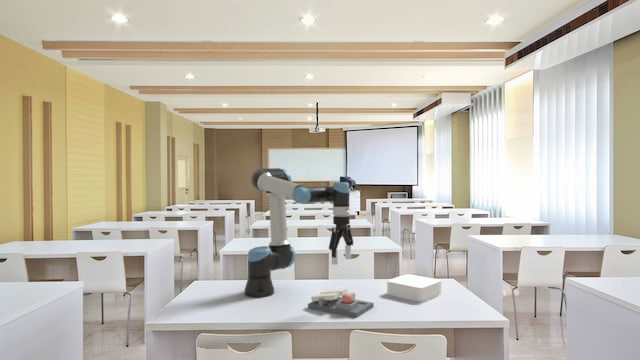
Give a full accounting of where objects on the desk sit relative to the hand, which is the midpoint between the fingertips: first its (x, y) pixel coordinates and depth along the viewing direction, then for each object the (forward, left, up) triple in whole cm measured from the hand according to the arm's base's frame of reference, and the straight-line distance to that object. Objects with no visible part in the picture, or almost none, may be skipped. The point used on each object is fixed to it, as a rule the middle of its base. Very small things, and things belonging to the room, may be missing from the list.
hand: (341, 261), depth 196 cm
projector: (+21, +39, -21) cm, 49 cm away
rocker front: (-6, -5, -16) cm, 18 cm away
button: (+6, -5, -17) cm, 19 cm away
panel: (0, -1, -21) cm, 21 cm away
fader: (+3, +4, -18) cm, 19 cm away
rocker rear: (-6, +3, -16) cm, 17 cm away
